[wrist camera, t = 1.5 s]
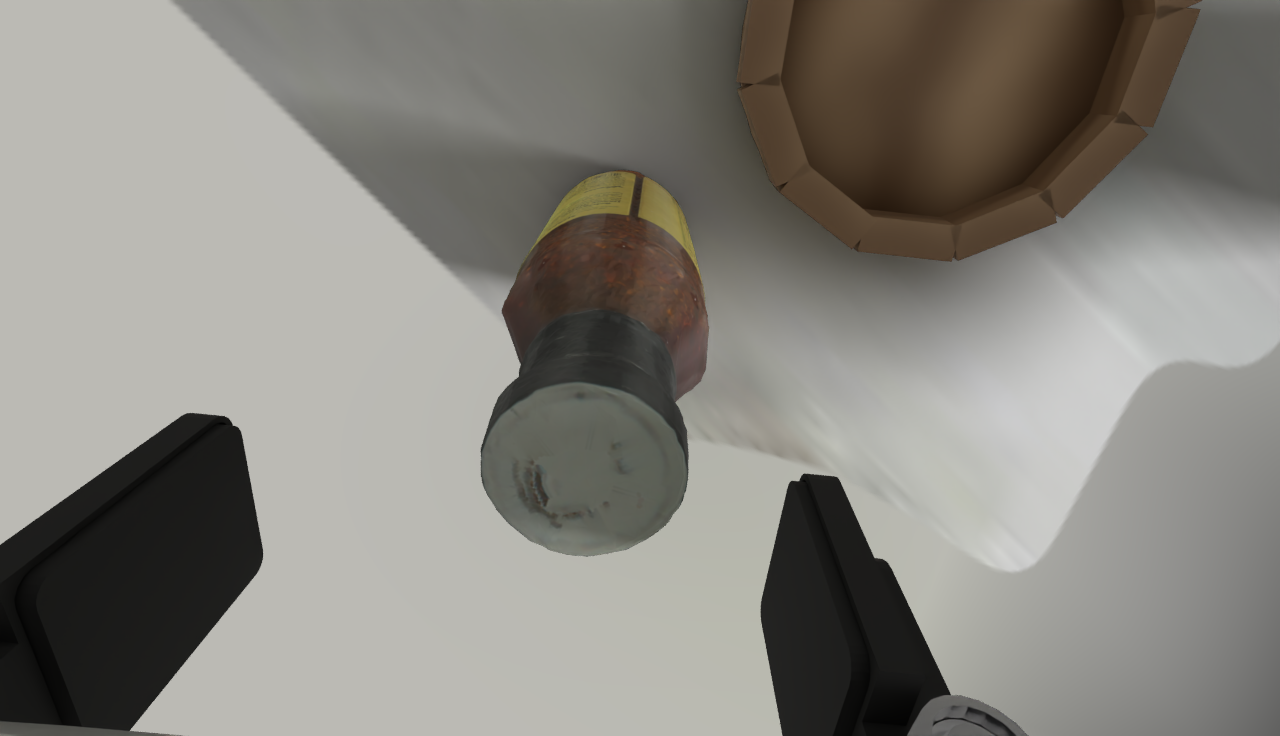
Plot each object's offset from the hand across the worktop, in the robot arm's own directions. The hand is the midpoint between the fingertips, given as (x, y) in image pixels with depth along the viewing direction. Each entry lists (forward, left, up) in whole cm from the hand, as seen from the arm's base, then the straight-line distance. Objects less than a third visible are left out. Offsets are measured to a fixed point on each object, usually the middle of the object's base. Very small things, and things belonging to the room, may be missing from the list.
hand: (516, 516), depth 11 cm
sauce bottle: (0, 0, -21) cm, 21 cm away
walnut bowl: (-12, -9, -21) cm, 26 cm away
